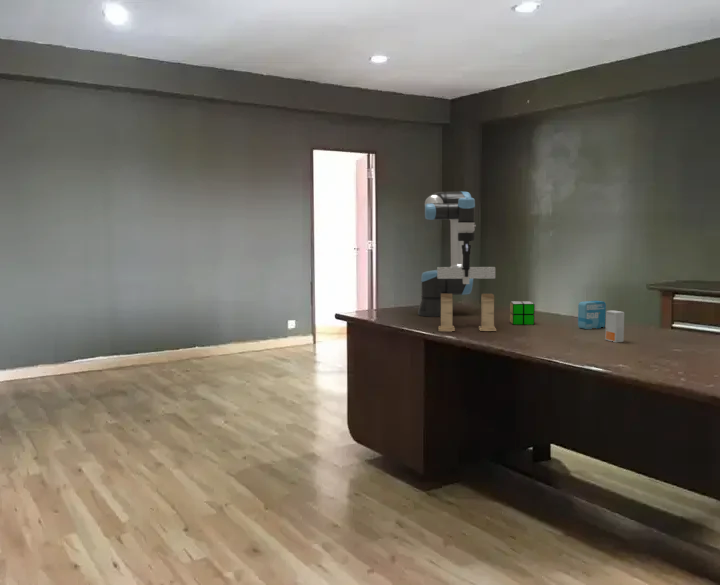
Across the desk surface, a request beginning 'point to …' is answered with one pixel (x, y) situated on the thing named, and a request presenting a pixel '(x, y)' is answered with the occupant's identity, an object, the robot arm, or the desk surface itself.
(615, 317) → the skincare box
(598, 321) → the data package
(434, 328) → the desk surface
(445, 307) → the post
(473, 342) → the desk surface
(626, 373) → the desk surface
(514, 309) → the puzzle cube
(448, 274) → the rail
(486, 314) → the post
